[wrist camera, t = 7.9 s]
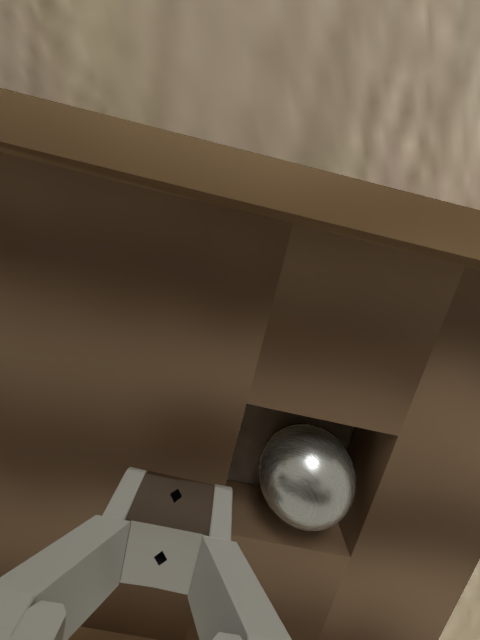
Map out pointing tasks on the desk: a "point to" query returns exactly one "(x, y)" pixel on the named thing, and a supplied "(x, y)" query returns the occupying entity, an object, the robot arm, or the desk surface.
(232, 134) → the desk surface
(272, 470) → the steel ball
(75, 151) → the board
